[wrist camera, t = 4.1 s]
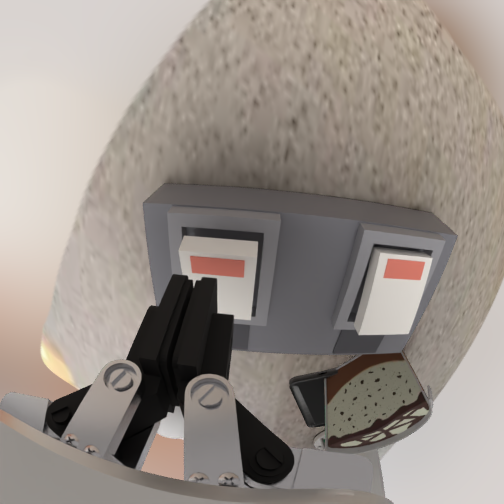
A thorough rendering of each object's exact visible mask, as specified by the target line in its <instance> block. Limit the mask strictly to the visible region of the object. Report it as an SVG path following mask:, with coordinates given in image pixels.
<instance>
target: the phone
mask: <svg viewBox="0 0 504 504" xmlns="http://www.w3.org/2000/svg"><path fill="white" fill-rule="evenodd" d="M324 372H327V373H326V374H322V375H319V373H324ZM337 373H338V369H337V370H336V368H334V369H329V370H325V371H321V372H316V373H311V374H306V375H301V376H296V377H293V378H292V379H291V380H290V381H289V384H290V389H291V392H292V394H293V396H294V398H295V400H296V402H297V405H298V407H299V409H300V411H301V413H302V415H303V417H304V420H305V422H306V424H307V426H308V427H320V426H325V393H324V379H325V378H328V377H330V376H333V375H335V374H337Z"/></svg>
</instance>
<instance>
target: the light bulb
mask: <svg viewBox="0 0 504 504" xmlns="http://www.w3.org/2000/svg"><path fill="white" fill-rule="evenodd" d="M157 433H158V434H160V435H161V436H164V437H167V438H173V439H178V438H184V418H183V415H182V412H181V409H180V406H179V407H178V406H175V410H174V413H170V412H168V413H167V417H166V418H164V419H162V420H161V422H160V426H159V428H158V431H157Z"/></svg>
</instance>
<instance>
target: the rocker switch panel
mask: <svg viewBox="0 0 504 504" xmlns="http://www.w3.org/2000/svg"><path fill="white" fill-rule="evenodd" d="M143 210H144V220H145V230H146V239H147V247H148V255H149V262H150V269H151V275H152V282H153V288H154V294H155V300H156V305H157V306H159V304H160V302H161V299H162V297H163V295H164V292H165V290H166V288H167V286H168V283H169V281H170V279H171V277H172V275H173V274H178V275H182V269H181V263H180V257H179V251H178V250H179V248H180V245H181V242H182V240H183V237H184V236H196V237H208V238H221V239H233V240H245V241H257V242H258V252H257V264H256V274H255V284H254V294H253V303H252V313H251V320H241V319H234V329H233V343H232V350H240V351H252V352H266V353H284V354H312V355H357V354H385V353H401V352H402V350H403V348H404V347H405V345H406V343H407V342H408V340H409V338H410V337H411V335H412V333H413V331H414V330H415V328H416V326H417V324H418V322H419V321H420V319H421V317H422V315H423V313H424V311H425V309H426V307H427V305H428V303H429V301H430V299H431V297H432V295H433V293H434V291H435V289H436V287H437V285H438V283H439V280H440V278H441V276H442V274H443V271H444V269H445V267H446V264H447V262H448V260H449V257H450V255H451V252H452V250H453V247H454V244H455V242H456V239H457V236H458V235H457V234H455V233H454V232H453V231H452V230H451V229H450V228H449V227H448V226H447V225H446V224H444V223H443V222H442V221H441V220H440V219H439V218H438V217H436V216H435V215H434V214H433V213H430V212H425V211H419V210H414V209H409V208H403V207H397V206H392V205H386V204H379V203H373V202H367V201H360V200H353V199H346V198H339V197H331V196H323V195H315V194H306V193H297V192H288V191H278V190H267V189H255V188H242V187H228V186H212V185H192V184H163V185H162V186H161V187H160V188H159V189H158V190H156V191H155V192H154V193H153V194H152V195H151V196H150V197H149V198H148V199H147V200H146V201H145V202H143ZM373 247H382V248H391V249H400V250H409V251H418V252H424V253H426V254H427V255H429V256H430V257H432V258H433V259H432V263H431V267H430V271H429V274H428V278H427V281H426V285H425V288H424V291H423V294H422V298H421V301H420V304H419V307H418V310H417V313H416V315H415V318H414V321H413V324H412V326H411V329H410V332H409V334H395V335H358V333H357V331H356V329H355V327H354V322H355V319H356V315H357V312H358V308H359V304H360V300H361V297H362V293H363V289H364V285H365V280H366V276H367V272H368V267H369V263H370V258H371V253H372V248H373Z"/></svg>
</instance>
